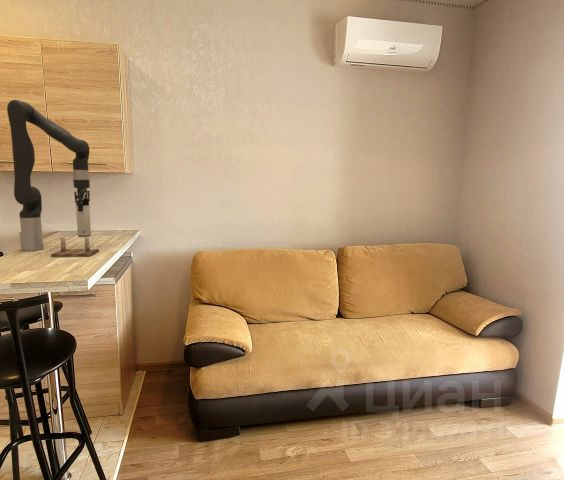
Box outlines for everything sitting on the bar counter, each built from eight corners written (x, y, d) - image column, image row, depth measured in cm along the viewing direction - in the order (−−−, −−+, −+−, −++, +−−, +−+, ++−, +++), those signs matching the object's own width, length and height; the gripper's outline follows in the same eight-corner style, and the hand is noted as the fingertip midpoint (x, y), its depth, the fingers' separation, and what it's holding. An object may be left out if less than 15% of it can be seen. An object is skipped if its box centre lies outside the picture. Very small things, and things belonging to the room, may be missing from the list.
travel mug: (86, 237, 196) (83, 199, 193) (75, 236, 197) (72, 198, 194) (94, 235, 202) (92, 198, 199) (83, 235, 203) (81, 198, 200)
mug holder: (51, 257, 181) (49, 239, 180) (62, 252, 193) (61, 235, 192) (90, 256, 183) (88, 239, 182) (99, 251, 195) (97, 235, 194)
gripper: (79, 178, 201) (81, 209, 204) (67, 178, 187) (69, 212, 190) (94, 179, 202) (95, 209, 205) (83, 179, 188) (85, 212, 191)
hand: (83, 210), depth 198 cm, fingers closed on travel mug, 6 cm apart
